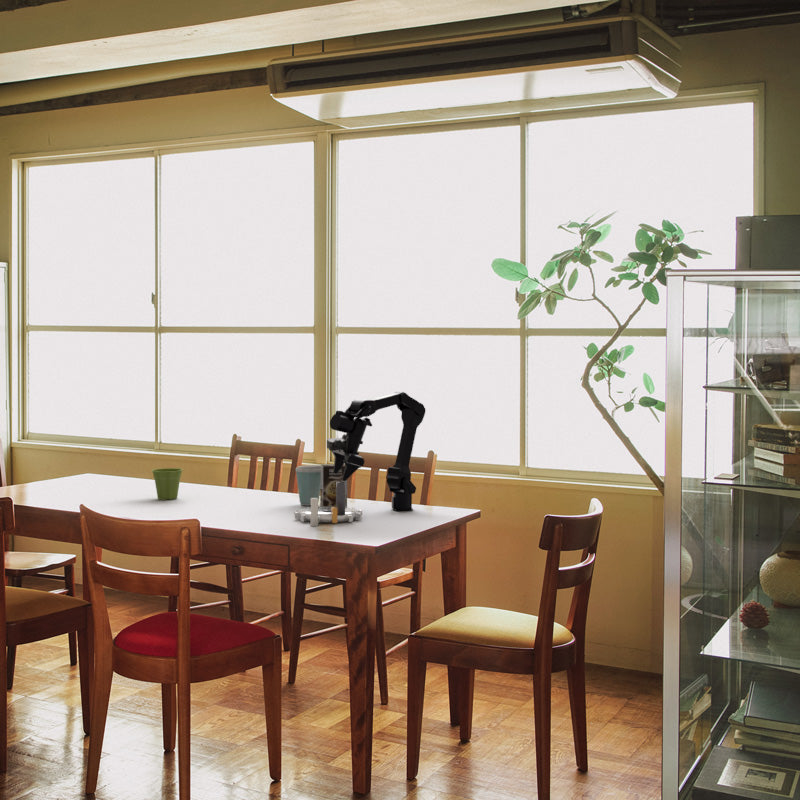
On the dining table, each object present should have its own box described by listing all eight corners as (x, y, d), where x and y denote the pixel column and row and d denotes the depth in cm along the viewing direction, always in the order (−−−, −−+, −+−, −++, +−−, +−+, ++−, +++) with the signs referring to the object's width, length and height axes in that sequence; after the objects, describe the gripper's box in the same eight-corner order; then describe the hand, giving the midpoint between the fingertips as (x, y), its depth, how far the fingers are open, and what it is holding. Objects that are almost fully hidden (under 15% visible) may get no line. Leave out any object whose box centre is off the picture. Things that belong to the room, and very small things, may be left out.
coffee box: (322, 510, 349) (323, 466, 348) (319, 508, 355) (320, 464, 355) (347, 510, 351) (348, 465, 351) (344, 507, 358) (344, 463, 357)
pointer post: (317, 524, 321) (317, 497, 321) (318, 526, 319) (318, 498, 318) (310, 525, 321) (310, 498, 320) (311, 526, 318) (311, 499, 318)
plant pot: (187, 496, 380) (187, 468, 379) (177, 501, 368) (177, 471, 368) (157, 496, 381) (157, 467, 381) (147, 500, 369) (146, 471, 369)
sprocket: (354, 510, 347) (354, 474, 347) (369, 521, 325) (369, 483, 324) (289, 512, 342) (290, 475, 341) (300, 524, 319) (300, 485, 318)
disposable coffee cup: (289, 505, 360) (289, 465, 359) (305, 501, 370) (305, 462, 369) (313, 508, 355) (313, 467, 354) (329, 504, 365) (329, 464, 364)
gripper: (325, 422, 342) (310, 463, 343) (342, 435, 325) (326, 478, 326) (353, 431, 347) (338, 471, 348) (371, 444, 330) (356, 487, 331)
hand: (339, 477), depth 338 cm, fingers open, 9 cm apart
